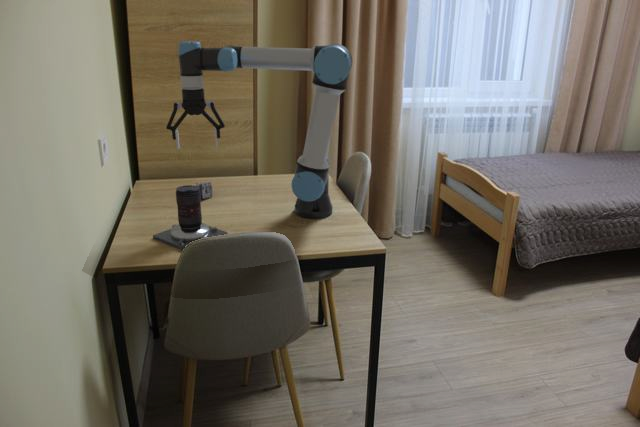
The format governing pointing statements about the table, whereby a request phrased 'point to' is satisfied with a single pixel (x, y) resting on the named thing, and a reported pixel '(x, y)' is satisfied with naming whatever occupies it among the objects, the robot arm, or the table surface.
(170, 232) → the mount board
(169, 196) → the table surface
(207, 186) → the caster wheel
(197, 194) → the camera lens
